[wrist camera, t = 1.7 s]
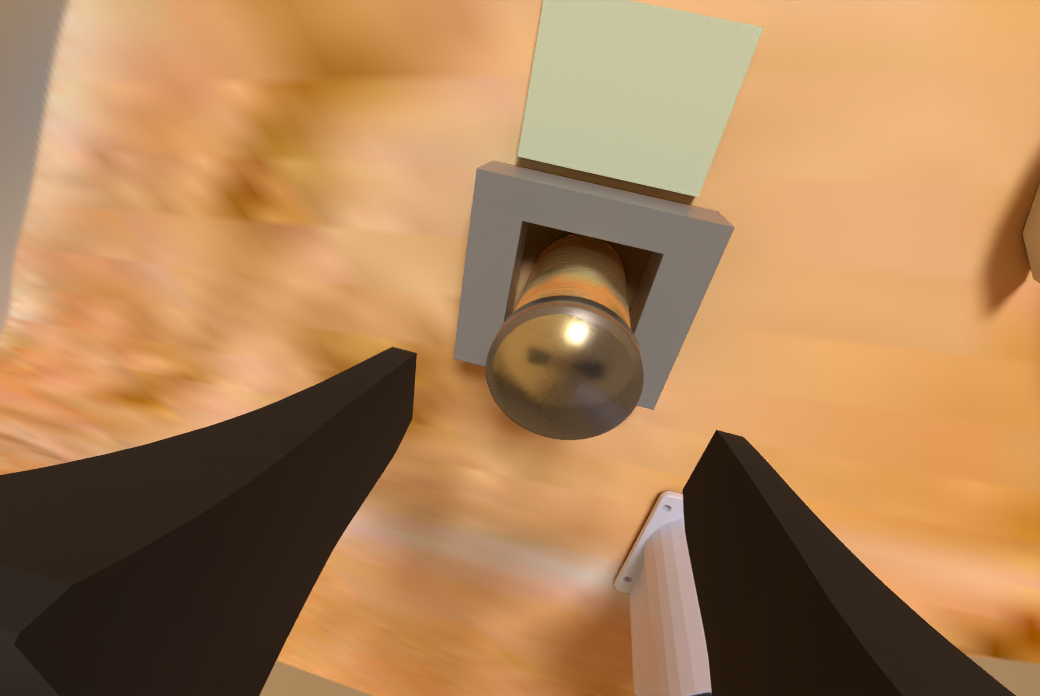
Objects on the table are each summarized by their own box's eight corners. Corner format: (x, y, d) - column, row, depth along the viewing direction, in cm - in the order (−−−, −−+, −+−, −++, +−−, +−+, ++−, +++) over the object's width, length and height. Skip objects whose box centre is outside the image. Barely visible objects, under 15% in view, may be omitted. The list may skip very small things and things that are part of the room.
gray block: (648, 378, 21) (653, 409, 18) (469, 333, 21) (453, 358, 19) (718, 211, 16) (734, 227, 14) (493, 160, 17) (476, 168, 15)
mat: (696, 195, 16) (698, 197, 16) (519, 155, 17) (517, 156, 16) (759, 29, 14) (763, 27, 13) (547, -14, 14) (545, -17, 14)
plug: (612, 334, 20) (615, 455, 13) (520, 311, 20) (476, 418, 13) (643, 242, 18) (667, 330, 11) (539, 218, 18) (498, 289, 11)
